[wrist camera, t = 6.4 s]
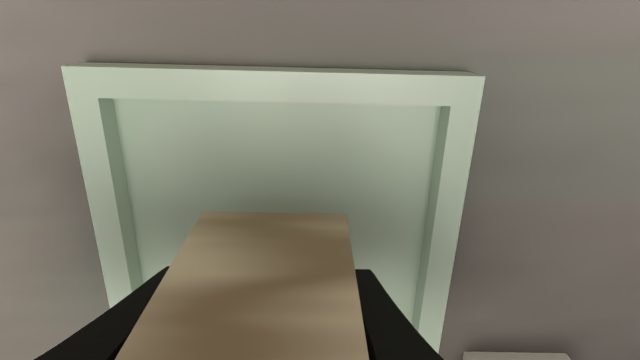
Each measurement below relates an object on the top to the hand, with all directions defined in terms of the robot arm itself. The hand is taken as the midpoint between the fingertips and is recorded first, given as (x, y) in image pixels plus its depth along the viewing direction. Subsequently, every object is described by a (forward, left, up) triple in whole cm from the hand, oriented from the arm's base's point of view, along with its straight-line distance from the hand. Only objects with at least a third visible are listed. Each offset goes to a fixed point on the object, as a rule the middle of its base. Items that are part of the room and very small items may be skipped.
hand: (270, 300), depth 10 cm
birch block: (0, 0, -2) cm, 2 cm away
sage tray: (0, 0, -3) cm, 3 cm away
